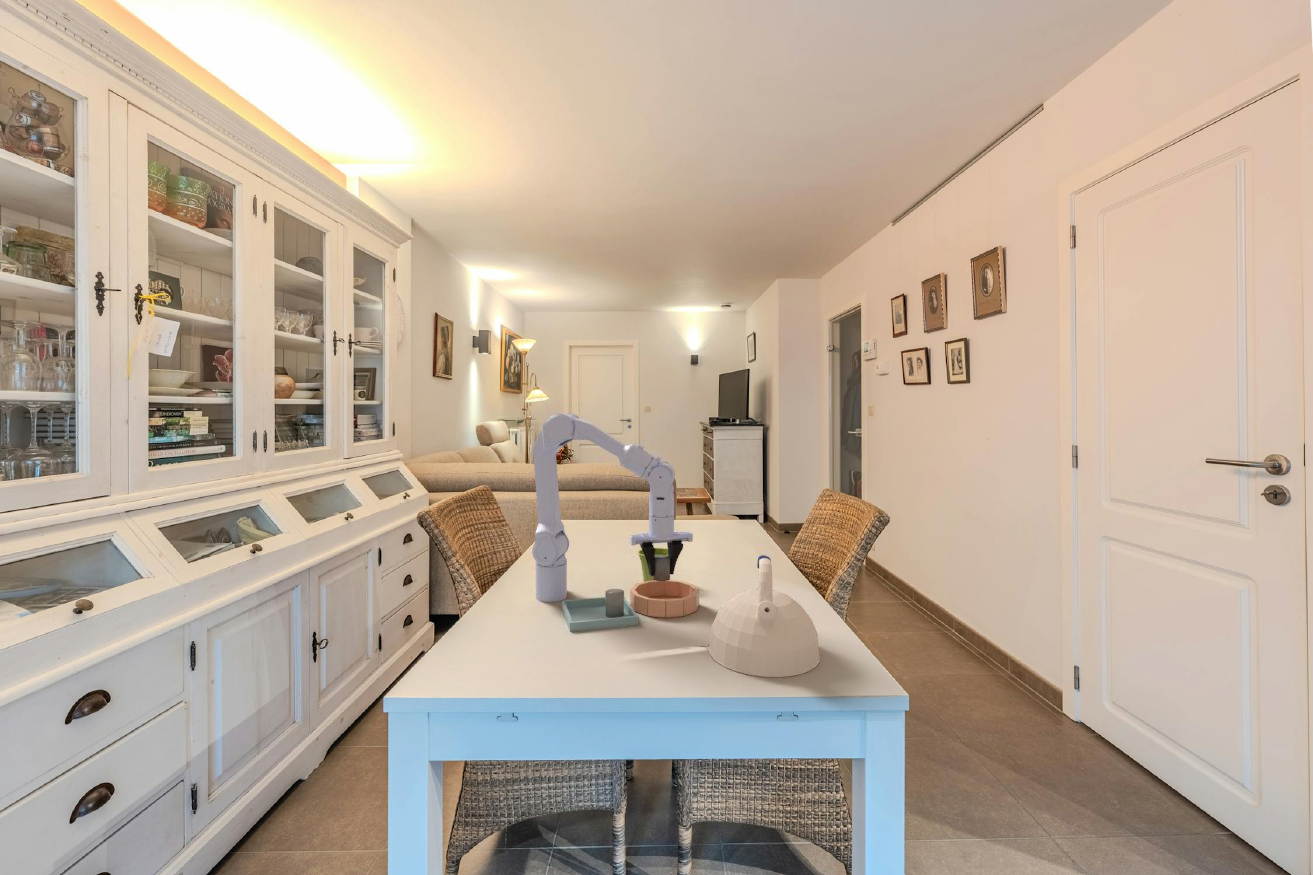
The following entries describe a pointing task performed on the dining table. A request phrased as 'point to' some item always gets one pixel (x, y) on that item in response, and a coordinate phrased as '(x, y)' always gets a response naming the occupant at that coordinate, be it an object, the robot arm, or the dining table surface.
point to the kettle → (764, 632)
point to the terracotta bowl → (664, 598)
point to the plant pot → (644, 563)
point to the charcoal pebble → (661, 568)
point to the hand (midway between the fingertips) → (661, 574)
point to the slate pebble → (614, 603)
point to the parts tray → (595, 614)
